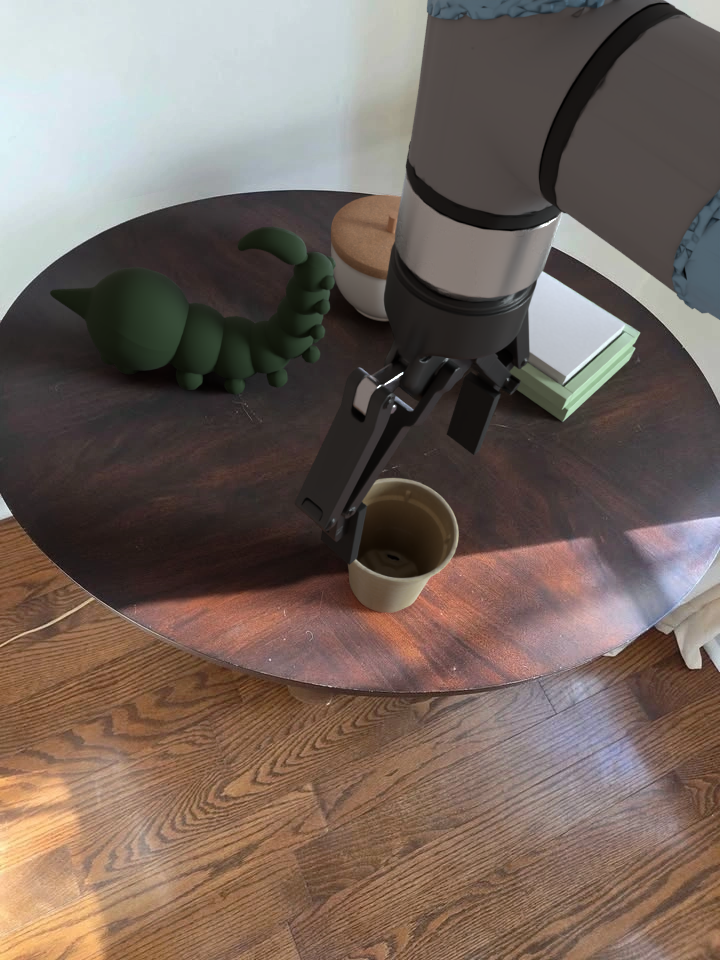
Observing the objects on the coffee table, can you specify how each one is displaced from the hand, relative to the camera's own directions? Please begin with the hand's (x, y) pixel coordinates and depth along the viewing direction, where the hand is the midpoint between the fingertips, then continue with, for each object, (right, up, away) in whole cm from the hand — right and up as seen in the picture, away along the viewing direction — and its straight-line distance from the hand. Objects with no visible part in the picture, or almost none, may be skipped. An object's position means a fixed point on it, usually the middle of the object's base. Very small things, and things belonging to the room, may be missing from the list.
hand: (404, 492), depth 56 cm
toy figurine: (-19, +12, +23) cm, 32 cm away
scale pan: (+17, +17, +26) cm, 35 cm away
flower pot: (-1, -8, +11) cm, 13 cm away
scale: (+16, +15, +29) cm, 36 cm away
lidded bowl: (-1, +21, +31) cm, 38 cm away
